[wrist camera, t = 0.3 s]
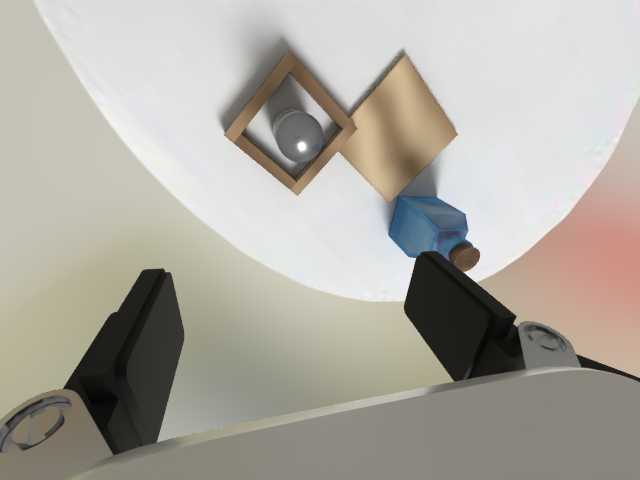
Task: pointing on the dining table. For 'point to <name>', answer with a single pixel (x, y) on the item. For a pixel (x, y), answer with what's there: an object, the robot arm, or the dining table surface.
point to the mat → (396, 131)
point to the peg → (297, 135)
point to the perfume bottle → (432, 230)
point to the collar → (325, 102)
